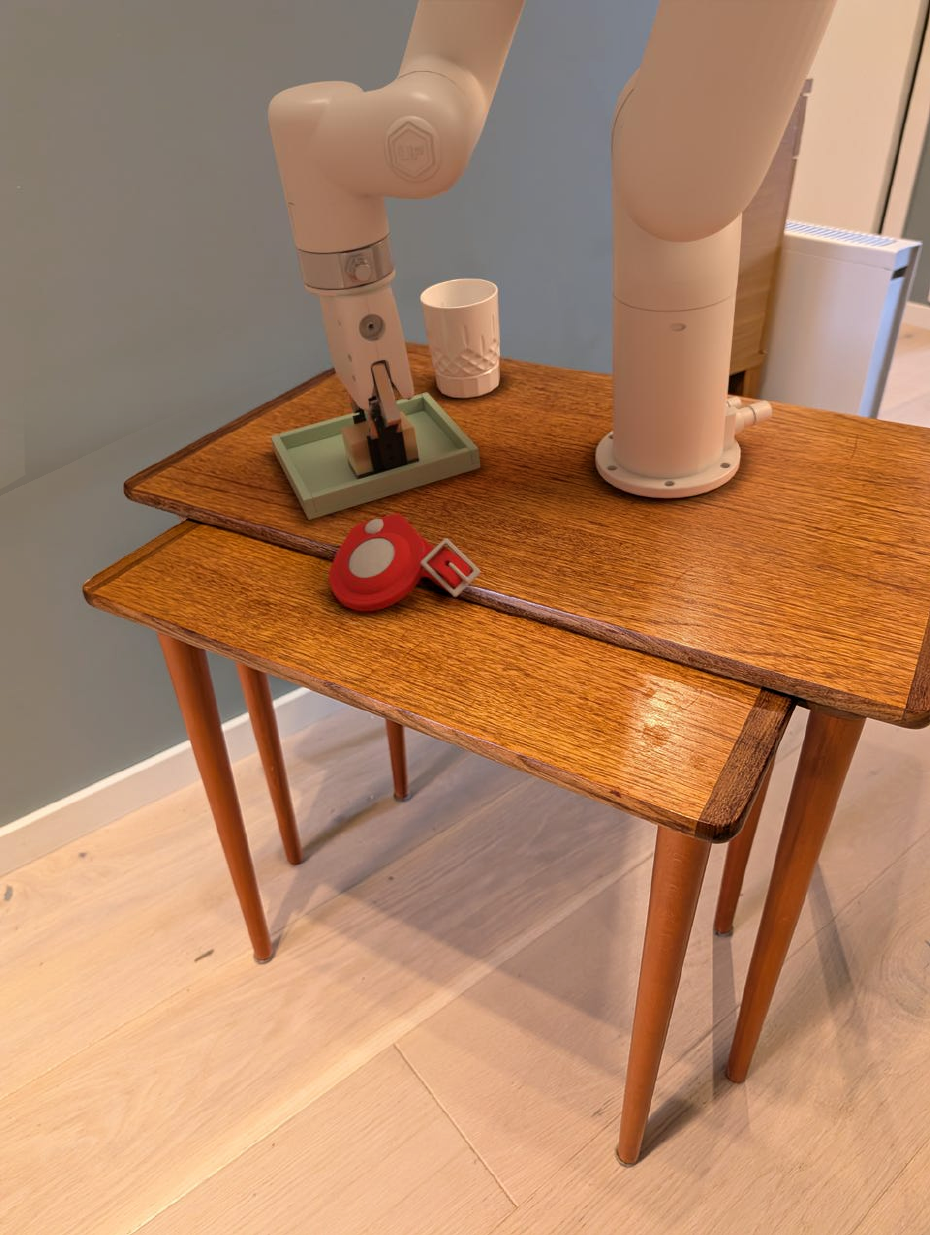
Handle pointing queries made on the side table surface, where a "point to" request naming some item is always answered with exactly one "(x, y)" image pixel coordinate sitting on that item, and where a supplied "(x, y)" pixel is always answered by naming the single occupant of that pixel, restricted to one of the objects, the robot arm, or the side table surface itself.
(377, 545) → the tracker holder
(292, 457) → the tray
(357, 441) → the eraser
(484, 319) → the white cup
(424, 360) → the side table surface
